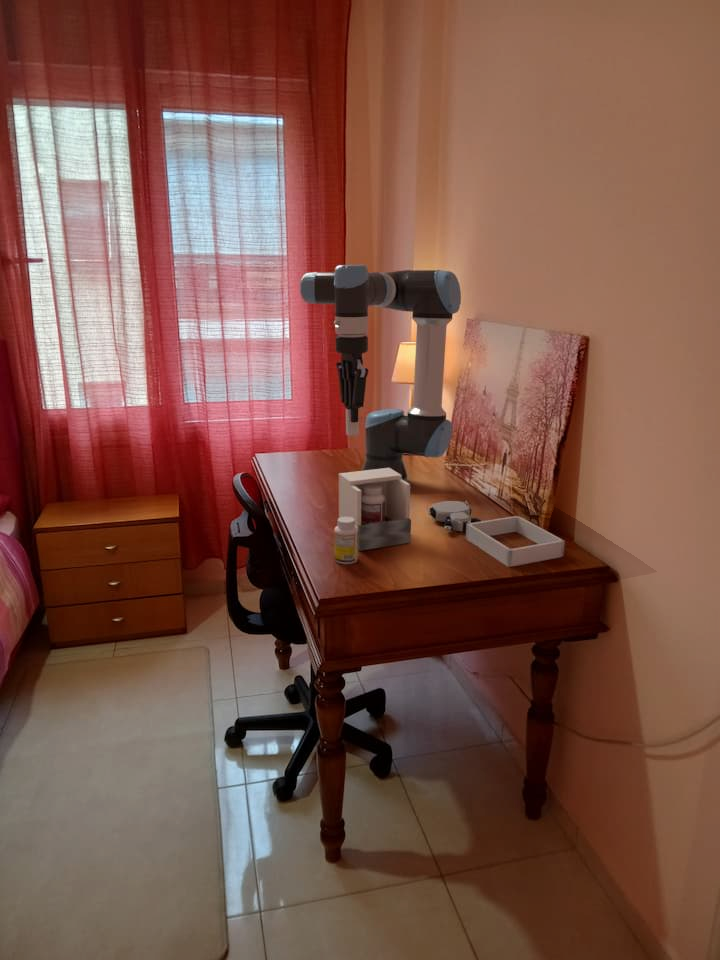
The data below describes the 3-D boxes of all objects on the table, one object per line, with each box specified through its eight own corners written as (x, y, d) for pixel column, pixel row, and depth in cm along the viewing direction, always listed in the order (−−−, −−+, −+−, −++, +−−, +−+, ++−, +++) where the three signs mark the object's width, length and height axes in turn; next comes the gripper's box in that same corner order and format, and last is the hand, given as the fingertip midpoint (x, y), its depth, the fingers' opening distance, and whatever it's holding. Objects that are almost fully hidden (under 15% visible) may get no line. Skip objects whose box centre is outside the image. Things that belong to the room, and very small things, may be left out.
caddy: (388, 525, 181) (389, 467, 176) (408, 541, 171) (410, 480, 166) (339, 532, 176) (338, 473, 171) (357, 550, 165) (357, 487, 161)
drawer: (389, 526, 180) (390, 504, 178) (410, 542, 169) (411, 519, 167) (341, 533, 174) (341, 511, 173) (360, 550, 164) (360, 527, 162)
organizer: (516, 530, 179) (517, 515, 177) (563, 556, 162) (564, 541, 161) (465, 538, 173) (466, 523, 171) (508, 567, 156) (509, 550, 155)
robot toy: (487, 535, 177) (464, 512, 191) (489, 520, 176) (465, 497, 189) (443, 540, 174) (423, 516, 188) (444, 524, 173) (424, 501, 186)
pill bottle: (371, 521, 177) (371, 481, 174) (389, 527, 173) (390, 486, 170) (355, 528, 173) (355, 486, 169) (373, 534, 169) (374, 492, 165)
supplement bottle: (345, 553, 163) (345, 513, 160) (363, 559, 160) (363, 518, 157) (329, 560, 159) (329, 519, 156) (347, 567, 156) (347, 525, 153)
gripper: (325, 333, 161) (327, 430, 169) (348, 338, 150) (349, 442, 157) (354, 331, 164) (355, 426, 172) (378, 337, 153) (378, 438, 160)
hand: (352, 434), depth 165 cm, fingers closed
